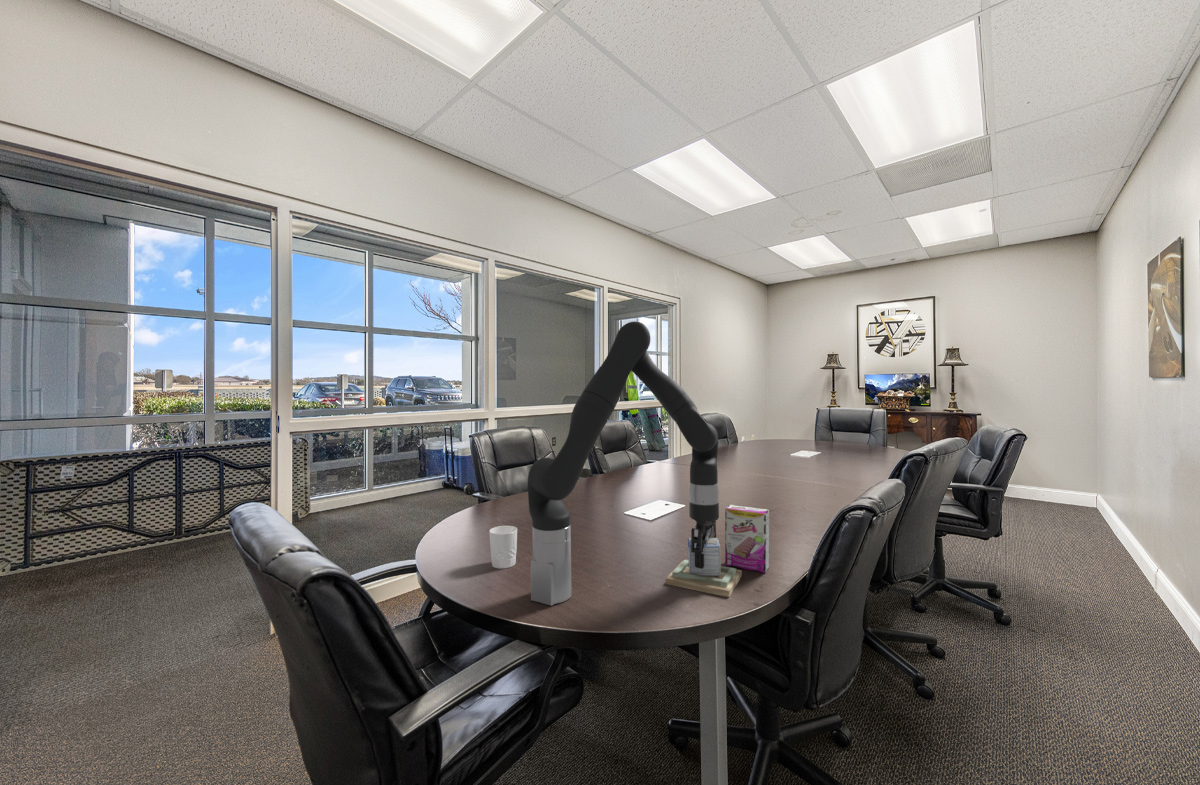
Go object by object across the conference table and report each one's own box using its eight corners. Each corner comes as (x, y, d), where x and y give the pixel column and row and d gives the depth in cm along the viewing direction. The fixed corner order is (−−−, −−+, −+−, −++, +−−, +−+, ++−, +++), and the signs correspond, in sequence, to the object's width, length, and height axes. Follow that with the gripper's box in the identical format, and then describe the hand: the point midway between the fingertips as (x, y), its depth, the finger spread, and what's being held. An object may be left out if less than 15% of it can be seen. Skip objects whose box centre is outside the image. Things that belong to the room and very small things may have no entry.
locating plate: (729, 597, 109) (729, 586, 109) (665, 584, 117) (665, 574, 117) (741, 576, 122) (741, 566, 122) (683, 565, 129) (683, 556, 129)
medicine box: (718, 567, 121) (718, 537, 120) (720, 577, 117) (720, 546, 115) (688, 567, 122) (687, 537, 121) (689, 576, 118) (688, 546, 116)
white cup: (484, 564, 132) (484, 529, 132) (507, 557, 137) (507, 523, 137) (499, 572, 126) (498, 535, 126) (523, 564, 132) (522, 529, 132)
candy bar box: (724, 566, 128) (724, 508, 128) (729, 560, 133) (728, 504, 133) (766, 574, 123) (765, 513, 123) (769, 567, 127) (769, 508, 127)
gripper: (710, 508, 111) (711, 574, 111) (725, 495, 124) (725, 555, 124) (680, 504, 115) (681, 569, 115) (698, 493, 127) (698, 551, 127)
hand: (704, 562), depth 119 cm, fingers open, 8 cm apart
